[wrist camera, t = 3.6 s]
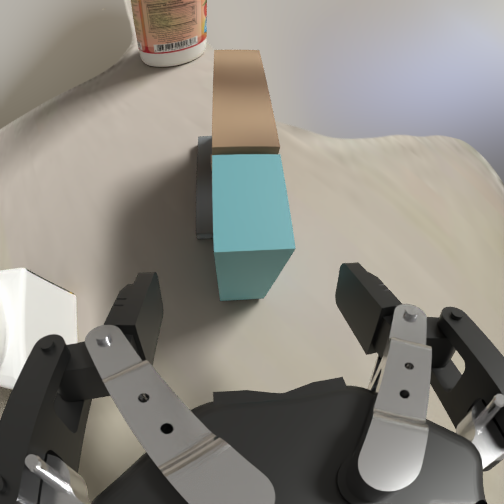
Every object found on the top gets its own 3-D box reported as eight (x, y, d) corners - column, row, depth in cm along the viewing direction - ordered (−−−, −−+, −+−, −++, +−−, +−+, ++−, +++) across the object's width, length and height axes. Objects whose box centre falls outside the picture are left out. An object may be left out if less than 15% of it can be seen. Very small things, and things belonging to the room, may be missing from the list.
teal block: (263, 298, 19) (295, 248, 10) (220, 300, 19) (214, 252, 10) (257, 238, 21) (280, 154, 12) (217, 240, 20) (212, 155, 12)
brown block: (276, 235, 21) (311, 147, 12) (197, 238, 21) (178, 149, 11) (264, 142, 25) (280, 51, 15) (199, 144, 24) (192, 51, 15)
